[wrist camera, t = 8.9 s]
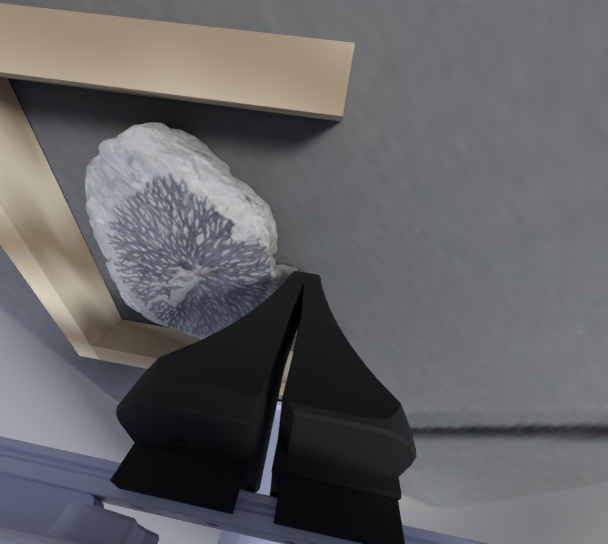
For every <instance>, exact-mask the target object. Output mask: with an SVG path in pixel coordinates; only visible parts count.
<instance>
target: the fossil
mask: <svg viewBox="0 0 608 544" xmlns="http://www.w3.org/2000/svg"><path fill="white" fill-rule="evenodd" d="M98 148H99V155H97V156H96V157H95V158H92V159H91V161H90V163H89V164H88V166H87V168H86V176H85V190H86V200H87V202H86V211H87V213H88V215H89V217H90V219H89V223H90V225H91V227H92V229H93V235H94V237H95V239H96V241H97V242H98V244H99V246H100V249H101V251H102V253H103V255H104V256H105V257H106V259H107V260H108V261H107V262H106V266H107V268H108V270H109V273H110V275H111V278H112V279H113V280H114V282H115V283H116V285H117V287H118V290H119V292H120V295H121V297H122V298H123V300H124V301H125V303H126V305H128V306H129V307H131V308H132V309H134V310H135V311H137V312H139V313H141V314H142V315H143V316H144V317H145V318H147V319H149V320H151V321H152V322H154V323H156V324H161V325H163V326H166V327H169V328H171V329H174V330H178V331H181V332H184V333H186V334H188V335H191V336H195V337H197V338H199V339H201V340H202V339H204V338H206V337H208V336H210V335H212V334H214V333H216V332H218V331H220V330H222V329H224V328H225V327H227V326H229V325H230V324H232V323H234V322H235V321H237V320H239V319H240V318H242V317H243V316H245V315H246V314H248V313H249V312H250V311H252V310H253V309H255V308H256V307H257V306H258V305H260V304H261V303H262V302H263V301H264V300H266V299H267V298H268V297H269V296H270V295H271V294H273V293H274V292H275V291H276V290H277V289H278V288H279V287H280V286H281V285H282V284H283V282H284V281H285V280H286V279H287V278H288V277H289V276H290V274H291V273H292V272H293V271H297V268H295V267H291V266H286V265H276V263H275V258H274V255H275V253H276V252H277V245H276V242H277V240H278V239H277V236H278V234H277V232H276V223H275V220H274V218H273V215H272V212H271V209H270V206H269V205H268V204H267V203H266V202H265V201H264V200H262V199H261V198H260V197H259V196H258V195H256V193H255V192H254V191H253V190H252V189H251V188H250V187H249V186H248V185H247V184H246V183H244V182H242V181H241V180H239V179H237V178H235V177H233V176H232V174H230V170H229V166H228V165H227V164H226V163H225V162H223V161H222V160H220V159H219V158H218V157H217V156H216V155H215V154H214V153H213V152H212V151H211V150H210V149H209V148H208V147H207V145H205V144H204V143H203V142H201V141H200V140H199V139H198V138H196V137H195V136H194V135H191V134H189V133H186V132H184V131H182V130H181V129H170V128H169V127H167V126H166V125H165V124H163V123H156V122H149V123H145V124H140V125H137V124H136V125H133V126H131V127H130V128H128V129H127V130H125V131H124V132H122V133H121V134H119V135H118V136H117V137H115V138H110V139H107V140H104V141H102V142H101V143H100V144H99V147H98Z"/></svg>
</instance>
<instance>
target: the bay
mask: <svg viewBox="0 0 608 544" xmlns="http://www.w3.org/2000/svg"><path fill="white" fill-rule="evenodd" d="M354 46H355V43H350V42H341V41H332V40H324V39H315V38H306V37H297V36H288V35H279V34H270V33H261V32H252V31H243V30H234V29H225V28H216V27H207V26H198V25H189V24H181V23H172V22H163V21H154V20H145V19H136V18H127V17H118V16H109V15H100V14H91V13H82V12H73V11H64V10H55V9H47V8H38V7H29V6H20V5H11V4H2V3H0V244H1V246H2V247H3V249H4V250H5V251H6V253H7V254H8V256H9V257H10V258H11V260H12V261H13V263H14V264H15V265H16V267H17V268H18V270H19V271H20V272H21V274H22V275H23V277H24V278H25V280H26V281H27V282H28V284H29V285H30V287H31V288H32V289H33V291H34V292H35V294H36V295H37V296H38V298H39V299H40V301H41V302H42V303H43V305H44V306H45V308H46V309H47V311H48V312H49V313H50V315H51V316H52V318H53V319H54V320H55V322H56V323H57V325H58V326H59V327H60V329H61V330H62V332H63V333H64V334H65V336H66V337H67V339H68V340H69V342H70V343H71V344H72V346H73V347H74V349H75V350H76V351H77V353H78V354H79V356H83V357H89V358H94V359H99V360H104V361H109V362H114V363H119V364H124V365H129V366H135V367H140V368H145V369H148V368H149V367H150V366H151V365H152V364H153V363H154V362H155V361H156V360H157V359H158V358H159V357H161V356H163V355H166V354H168V353H171V352H173V351H176V350H178V349H181V348H183V347H186V346H188V345H191V344H193V343H195V342H197V341H200V340H201V339H199V338H197V337H195V336H191V335H188V334H186V333H184V332H181V331H178V330H174V329H171V328H167V327H161V326H156V325H150V324H145V323H140V322H134V321H129V320H123V319H122V318H121V316H120V314H119V312H118V310H117V308H116V306H115V304H114V301H113V299H112V297H111V295H110V293H109V291H108V289H107V287H106V285H105V282H104V280H103V278H102V276H101V274H100V272H99V270H98V268H97V266H96V263H95V261H94V259H93V257H92V255H91V253H90V251H89V249H88V247H87V244H86V242H85V240H84V238H83V236H82V234H81V232H80V230H79V228H78V225H77V223H76V221H75V219H74V217H73V215H72V213H71V211H70V209H69V206H68V204H67V202H66V200H65V198H64V196H63V194H62V192H61V190H60V187H59V185H58V183H57V181H56V179H55V177H54V175H53V173H52V171H51V168H50V166H49V164H48V162H47V160H46V158H45V156H44V154H43V152H42V149H41V147H40V145H39V143H38V141H37V139H36V137H35V135H34V133H33V130H32V128H31V126H30V124H29V122H28V120H27V118H26V116H25V114H24V111H23V109H22V107H21V105H20V103H19V101H18V99H17V97H16V95H15V92H14V90H13V88H12V86H11V84H10V82H9V80H8V78H10V79H18V80H26V81H33V82H41V83H49V84H56V85H64V86H72V87H79V88H87V89H95V90H102V91H110V92H118V93H125V94H133V95H141V96H149V97H156V98H164V99H172V100H179V101H187V102H195V103H202V104H210V105H218V106H225V107H233V108H241V109H248V110H256V111H264V112H271V113H279V114H287V115H294V116H302V117H310V118H317V119H325V120H333V121H340V122H341V120H342V116H343V110H344V105H345V99H346V93H347V87H348V81H349V75H350V69H351V63H352V58H353V52H354ZM292 355H293V351H291V350H290V353H289V356H288V359H287V362H286V366H285V370H284V374H283V378H282V383H281V388H280V393H279V395H283V392H284V388H285V384H286V380H287V376H288V372H289V368H290V363H291V359H292Z"/></svg>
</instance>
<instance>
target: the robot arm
mask: <svg viewBox="0 0 608 544" xmlns="http://www.w3.org/2000/svg"><path fill="white" fill-rule="evenodd" d="M297 327H298V329H297ZM296 330H297V337H296V342H295V346H294V351H293V355H292V359H291V363H290V368H289V372H288V376H287V380H286V384H285V388H284V392H283V396H282V402H280V401H278V397H279V393H280V388H281V383H282V378H283V374H284V370H285V366H286V362H287V359H288V356H289V353H290V349H291V346H292V343H293V340H294V337H295V333H296ZM116 414H117V418H118V420H119V422H120V423H121V425H122V426H123V428H124V429H125V430H126V431H127V433H128V434H129V435H130V437H131V438H132V440H133V441H134V442H135V443H134V445H133V446H132V448H131V449H130V451H129V453H128V454H127V455H126V457H125V459H124V460H123V461H122V463H118V462H114V461H109V460H105V459H100V458H95V457H90V456H86V455H82V454H77V453H73V452H68V451H64V450H59V449H54V448H50V447H45V446H41V445H36V444H31V443H27V442H22V441H18V440H14V439H9V438H5V437H0V544H157V543H158V541H159V535H158V534H156V533H154V532H151V531H149V530H147V529H145V528H144V527H142V526H141V525H139V524H138V523H137V522H136V520H135V519H134V518H131V517H128V516H125V515H122V514H119V513H116V512H113V511H110V510H107V509H104V505H103V503H102V502H104V503H108V504H112V505H117V506H121V507H125V508H130V509H134V510H138V511H143V512H147V513H152V514H156V515H160V516H165V517H169V518H173V519H177V520H182V521H186V522H191V523H195V524H199V525H203V526H208V527H212V528H216V529H221V533H220V536H219V540H218V543H217V544H486V543H481V542H476V541H473V540H468V539H463V538H459V537H454V536H450V535H445V534H441V533H436V532H431V531H427V530H423V529H417V528H413V527H409V526H404V525H402V522H401V517H400V510H399V504H398V500H400V499H401V489H400V484H399V478H398V477H399V476H400V475H401V474H402V473H403V472H404V471H405V470H406V469H407V468H408V467H410V466H411V464H412V463H413V461H414V460H415V458H416V448H415V444H414V440H413V436H412V433H411V430H410V427H409V424H408V421H407V419H406V416H405V413H404V410H403V408H402V405H401V403H400V402H399V401H398V400H397V399H396V398H395V397H394V396H393V395H392V394H391V393H390V392H389V391H388V390H387V389H386V388H385V387H384V386H383V385H382V383H381V382H380V381H379V380H378V379H377V378H376V377H375V376H374V375H373V374H372V372H371V371H370V370H369V369H368V368H367V366H366V365H365V364H364V363H363V361H362V360H361V359H360V357H359V356H358V355H357V353H356V352H355V350H354V349H353V348H352V346H351V345H350V344H349V342H348V340H347V339H346V337H345V336H344V334H343V333H342V331H341V329H340V327H339V326H338V324H337V322H336V320H335V318H334V316H333V314H332V312H331V310H330V307H329V305H328V302H327V300H326V297H325V294H324V291H323V288H322V284H321V277H320V276H319V275H316V274H310V273H304V272H298V271H293V272H292V273H291V274H290V276H289V277H288V278H287V279H286V280H285V281H284V282H283V284H282V285H281V286H280V287H279V288H278V289H277V290H276V291H275V292H274V293H273V294H271V295H270V296H269V297H268V298H267V299H266V300H264V301H263V302H262V303H261V304H260V305H258V306H257V307H256V308H255V309H253V310H252V311H250V312H249V313H248V314H246V315H245V316H243V317H242V318H240V319H239V320H237V321H235V322H234V323H232V324H230V325H229V326H227V327H225V328H224V329H222V330H220V331H218V332H216V333H214V334H212V335H210V336H208V337H206V338H204V339H202V340H200V341H197V342H195V343H193V344H191V345H188V346H186V347H183V348H181V349H178V350H176V351H173V352H171V353H168V354H166V355H163V356H161V357H159V358H158V359H157V360H156V361H155V362H154V363H153V364H152V365H151V366H150V367H149V368H148V369H147V370H146V372H145V373H144V374H143V375H142V376H141V378H140V379H139V380H138V381H137V383H136V384H135V385H134V386H133V387H132V389H131V390H130V391H129V392H128V394H127V395H126V396H125V397H124V399H123V400H122V401H121V402H120V403H119V405H118V406H117V411H116Z"/></svg>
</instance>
